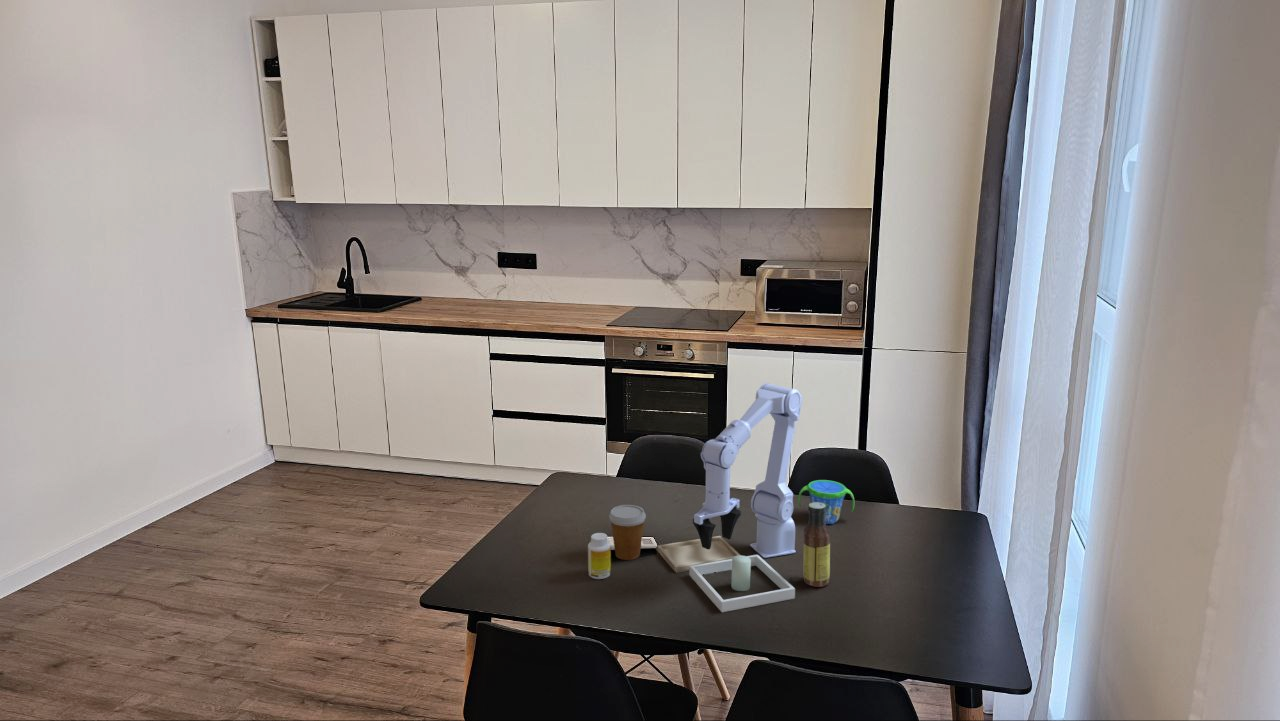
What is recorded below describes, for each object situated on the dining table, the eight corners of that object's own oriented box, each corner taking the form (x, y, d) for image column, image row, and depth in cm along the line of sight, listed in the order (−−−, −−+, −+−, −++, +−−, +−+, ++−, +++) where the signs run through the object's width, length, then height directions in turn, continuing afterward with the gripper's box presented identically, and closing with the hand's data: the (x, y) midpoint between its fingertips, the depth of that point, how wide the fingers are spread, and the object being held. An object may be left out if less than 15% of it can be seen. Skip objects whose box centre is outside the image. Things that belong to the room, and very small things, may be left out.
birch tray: (719, 540, 223) (720, 535, 222) (741, 561, 211) (741, 556, 210) (657, 550, 217) (657, 545, 217) (675, 573, 205) (676, 567, 205)
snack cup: (853, 515, 239) (856, 482, 237) (852, 530, 229) (855, 496, 227) (798, 509, 243) (800, 477, 241) (795, 524, 233) (797, 490, 231)
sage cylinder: (744, 581, 201) (745, 554, 200) (753, 589, 197) (754, 562, 195) (728, 584, 200) (729, 557, 198) (736, 592, 196) (737, 565, 194)
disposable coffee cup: (642, 564, 209) (642, 520, 207) (605, 561, 211) (604, 517, 208) (649, 548, 218) (649, 505, 216) (613, 545, 220) (613, 502, 218)
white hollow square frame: (757, 563, 210) (757, 554, 209) (794, 598, 193) (795, 588, 192) (689, 575, 204) (689, 565, 203) (721, 612, 187) (722, 602, 186)
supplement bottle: (614, 576, 203) (614, 538, 201) (594, 582, 200) (594, 542, 198) (604, 567, 208) (604, 529, 206) (584, 572, 205) (583, 534, 203)
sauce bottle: (830, 578, 202) (834, 502, 198) (827, 590, 197) (831, 511, 192) (803, 574, 204) (807, 498, 200) (799, 585, 199) (803, 508, 194)
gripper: (724, 477, 204) (722, 528, 207) (684, 493, 194) (683, 547, 197) (746, 485, 199) (745, 537, 202) (707, 501, 189) (706, 556, 193)
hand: (716, 542), depth 200 cm, fingers open, 7 cm apart
